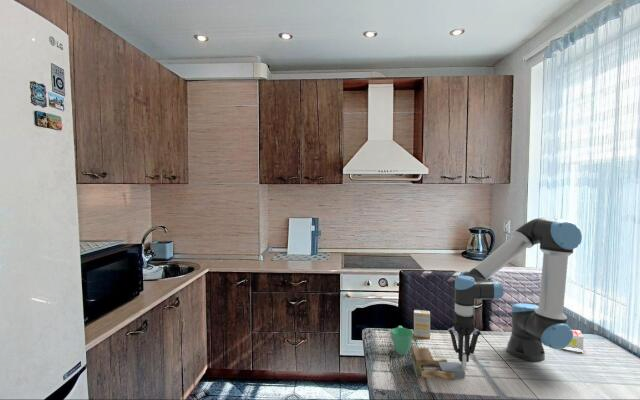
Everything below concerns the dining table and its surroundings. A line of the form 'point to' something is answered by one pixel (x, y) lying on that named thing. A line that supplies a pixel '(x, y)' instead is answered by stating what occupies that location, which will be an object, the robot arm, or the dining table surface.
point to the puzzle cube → (576, 340)
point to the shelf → (428, 364)
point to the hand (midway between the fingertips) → (463, 368)
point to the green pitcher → (402, 339)
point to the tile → (452, 368)
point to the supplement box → (422, 324)
